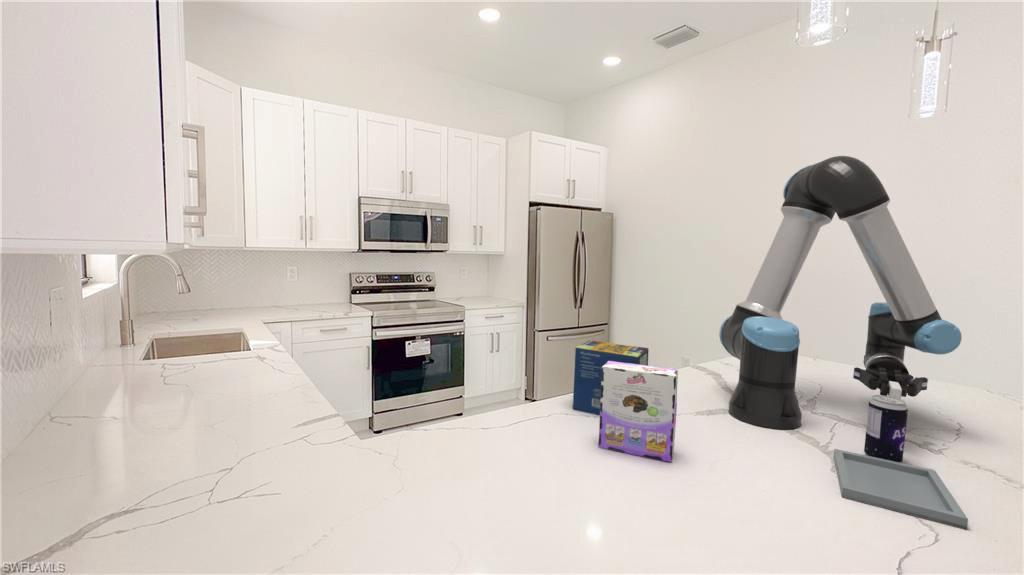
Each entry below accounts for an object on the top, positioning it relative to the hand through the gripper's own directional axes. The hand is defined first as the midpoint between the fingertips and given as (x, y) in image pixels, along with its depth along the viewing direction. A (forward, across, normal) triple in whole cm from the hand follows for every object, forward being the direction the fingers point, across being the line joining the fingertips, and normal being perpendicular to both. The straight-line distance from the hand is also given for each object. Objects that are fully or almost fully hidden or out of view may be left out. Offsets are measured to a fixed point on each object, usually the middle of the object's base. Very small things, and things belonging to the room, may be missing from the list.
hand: (896, 395), depth 86 cm
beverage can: (+4, +1, -12) cm, 13 cm away
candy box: (+31, +40, -12) cm, 52 cm away
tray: (+17, +1, -12) cm, 21 cm away
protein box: (+14, +53, -12) cm, 56 cm away
